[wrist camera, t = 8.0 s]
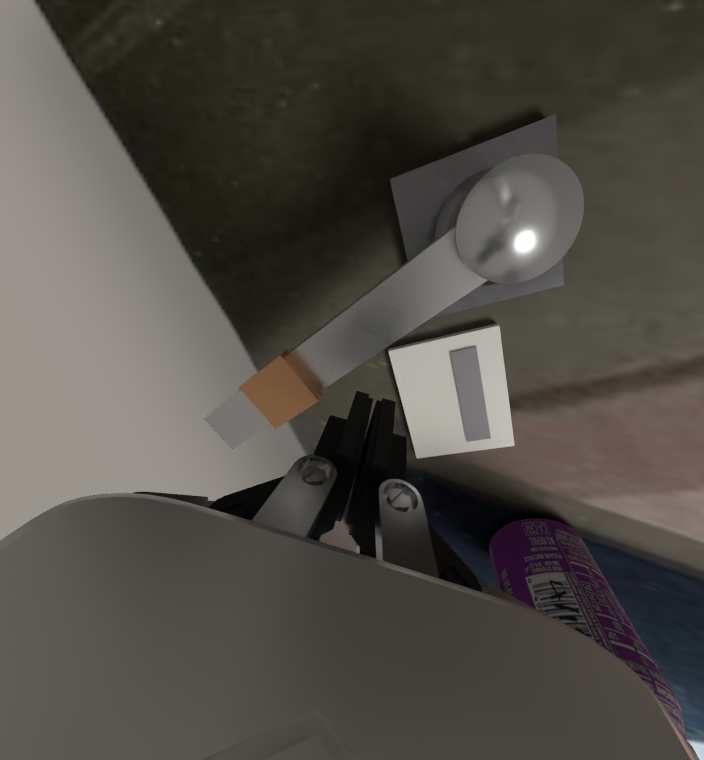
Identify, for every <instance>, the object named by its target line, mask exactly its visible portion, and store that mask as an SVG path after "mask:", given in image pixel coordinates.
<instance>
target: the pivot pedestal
mask: <svg viewBox="0 0 704 760" xmlns="http://www.w3.org/2000/svg"><path fill="white" fill-rule="evenodd" d="M526 154H543V155H548V156H551V157H554V158H557V159H558V149H557V128H556V114H555V115H552V116H550V117H547V118H545V119H542V120H539V121H537V122H534V123H532V124H529V125H527V126H524V127H522V128H519V129H517V130H514V131H511V132H509V133H506V134H504V135H501V136H499V137H496V138H494V139H491V140H488V141H486V142H483V143H481V144H478V145H476V146H473V147H471V148H468V149H465V150H463V151H460V152H458V153H455V154H453V155H450V156H448V157H445V158H442V159H440V160H437V161H435V162H432V163H430V164H427V165H425V166H422V167H420V168H417V169H414V170H412V171H409V172H407V173H404V174H402V175H399V176H397V177H394V178H391V179H390V183H391V187H392V192H393V197H394V201H395V206H396V210H397V215H398V220H399V224H400V229H401V233H402V238H403V242H404V247H405V252H406V256H407V261H408V260H410V259H411V258H412V257H413V256H415V255H416V254H417V253H419V252H420V251H421V250H423V249H424V248H425V247H426V246H428V245H429V244H430V243H432V242H433V241H434V240H436V239H437V238H438V237H440V236H441V235H442V234H443V233H445V232H446V231H447V229H448V224H449V220H450V217H451V215H452V212H453V210H454V208H455V207H456V205H457V204H458V202H459V201H460V199H461V198H462V197H463V196H464V195H465V194H466V193H467V192H468V191H469V190H470V189H471V188H472V187H473V186H474V185H475V184H476V183H477V182H478V181H479V180H480V179H481V178H482V177H483V176H484V175H485V174H487V173H488V172H489V171H490V170H491V169H493V168H494V167H496V166H497V165H499V164H500V163H502V162H504V161H506V160H509V159H511V158H513V157H517V156H521V155H526ZM562 285H564V273H563V257H562V258H561V259H560V260H559V261H558V262H557V263H556V264H555V265H554V266H552V267H551V268H550V269H548V270H547V271H546V272H544V273H542V274H540V275H539V276H537V277H534V278H532V279H530V280H526V281H523V282H518V283H509V284H505V283H497V282H492V281H489V280H488V281H486V282H485V283H483V284H482V285H480V286H479V287H477V288H476V289H474V290H473V291H471V292H470V293H468V294H466V295H465V296H463V297H462V298H460V299H459V300H457V301H456V302H454V303H453V304H451V305H450V306H448V307H447V308H445V309H444V310H442V311H441V312H439V313H438V314H436V315H435V316H433V317H432V318H436V317H439V316H443V315H447V314H451V313H455V312H459V311H463V310H467V309H471V308H475V307H479V306H483V305H487V304H491V303H495V302H499V301H503V300H507V299H511V298H515V297H518V296H522V295H526V294H530V293H534V292H538V291H542V290H546V289H550V288H554V287H558V286H562ZM432 318H430V319H432Z"/></svg>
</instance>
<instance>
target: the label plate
mask: <svg viewBox="0 0 704 760" xmlns="http://www.w3.org/2000/svg"><path fill="white" fill-rule="evenodd" d="M388 352H389V356H390V360H391V363H392V367H393V371H394V375H395V378H396V382H397V386H398V390H399V393H400V397H401V401H402V405H403V408H404V412H405V416H406V420H407V424H408V427H409V431H410V435H411V439H412V442H413V446H414V450H415V454H416V457H417V458H424V457H432V456H440V455H447V454H455V453H463V452H470V451H478V450H486V449H493V448H501V447H509V446H515V445H514V438H513V430H512V422H511V414H510V406H509V398H508V390H507V383H506V375H505V367H504V359H503V351H502V343H501V335H500V327H499V325H498V324H497V323H496V324H491V325H487V326H483V327H479V328H474V329H470V330H466V331H462V332H457V333H453V334H449V335H445V336H440V337H436V338H432V339H428V340H423V341H419V342H415V343H411V344H406V345H402V346H398V347H394V348H389V350H388Z"/></svg>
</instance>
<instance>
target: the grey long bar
mask: <svg viewBox="0 0 704 760" xmlns="http://www.w3.org/2000/svg"><path fill="white" fill-rule="evenodd" d="M583 213H584V196H583V191H582V187H581V185H580V182H579V180H578V178H577V176H576V175H575V173H574V172H573V171H572V170H571V168H570V167H569V166H567V165H566V164H565V163H564V162H562V161H560V160H559V159H557V158H554V157H551V156H548V155H543V154H526V155H521V156H517V157H513V158H511V159H509V160H506V161H504V162H502V163H500V164H499V165H497V166H496V167H494V168H493V169H491V170H490V171H489V172H488V173H487V174H485V175H484V176H483V177H482V178H481V179H480V180H479V181H478V182H477V183H476V184H475V185H474V186H473V187H472V188H471V189H470V190H469V191H468V192H467V193H466V194H465V195H464V196H463V197H462V198H461V199H460V201H459V202H458V204H457V205H456V207H455V208H454V210H453V212H452V215H451V217H450V220H449V224H448V229H447V231H446V232H445V233H443V234H442V235H441V236H440V237H438V238H437V239H436V240H434V241H433V242H432V243H430V244H429V245H428V246H426V247H425V248H424V249H423V250H421V251H420V252H419V253H417V254H416V255H415V256H413V257H412V258H411V259H410V260H408V261H407V262H406V263H404V264H403V265H402V266H400V267H399V268H398V269H396V270H395V271H394V272H393V273H391V274H390V275H389V276H387V277H386V278H385V279H383V280H382V281H381V282H379V283H378V284H377V285H376V286H374V287H373V288H372V289H370V290H369V291H368V292H366V293H365V294H364V295H363V296H361V297H360V298H359V299H357V300H356V301H355V302H353V303H352V304H351V305H349V306H348V307H347V308H346V309H344V310H343V311H342V312H340V313H339V314H338V315H336V316H335V317H334V318H332V319H331V320H330V321H329V322H327V323H326V324H325V325H323V326H322V327H321V328H319V329H318V330H317V331H315V332H314V333H313V334H312V335H310V336H309V337H308V338H306V339H305V340H304V341H302V342H301V343H300V344H299V345H297V346H296V347H295V348H293V349H292V350H291V351H289V352H288V351H287V350H286V351H285V352H284V353H282V354H281V355H280V356H279V357H277V358H276V359H275V360H273V361H272V362H271V363H269V364H268V365H267V366H266V367H264V368H263V369H262V370H260V371H259V372H258V373H257V374H255V375H254V376H253V377H251V378H250V379H249V380H247V381H246V382H245V383H244V384H243V385H241V386H240V387H239V388H240V390H239V391H238V392H236V393H235V394H233V395H232V396H231V397H230V398H228V399H227V400H226V401H225V402H223V403H222V404H221V405H220V406H219V407H218V408H216V409H215V410H214V411H213V412H211V413H210V414H209V415H208V416H207V417H205V418H204V420H205V421H206V422H207V423H208V424H209V425H210V426H211V427H212V428H213V429H214V430H215V431H216V432H217V433H218V434H219V436H220V437H221V438H222V439H223V440H224V441H225V442H226V443H227V444H228V445H229V446H230V447H231V448H232V449H233V448H235V447H236V446H238V445H239V444H241V443H242V442H244V441H245V440H247V439H248V438H250V437H251V436H253V435H254V434H256V433H257V432H259V431H260V430H262V429H263V428H265V427H266V426H268V425H270V424H272V425H273V426H274V428H275V429H276V428H277V427H279V426H281V425H282V424H284V423H286V422H287V421H289V420H290V419H292V418H293V417H295V416H296V415H298V414H299V413H301V412H303V411H304V410H306V409H307V408H309V407H310V406H312V405H313V404H315V403H317V402H318V401H319V400H320V398H321V396H322V395H323V394H322V392H321V390H323V389H324V388H326V387H327V386H329V385H330V384H332V383H333V382H335V381H336V380H338V379H339V378H341V377H342V376H344V375H345V374H347V373H348V372H350V371H351V370H353V369H354V368H356V367H357V366H359V365H360V364H362V363H363V362H365V361H366V360H368V359H370V358H371V357H373V356H374V355H376V354H377V353H379V352H380V351H382V350H383V349H385V348H386V347H388V346H389V345H391V344H392V343H394V342H395V341H397V340H398V339H400V338H401V337H403V336H404V335H406V334H407V333H409V332H410V331H412V330H413V329H415V328H416V327H418V326H420V325H421V324H423V323H424V322H426V321H427V320H429V319H430V318H432V317H433V316H435V315H436V314H438V313H439V312H441V311H442V310H444V309H445V308H447V307H448V306H450V305H451V304H453V303H454V302H456V301H457V300H459V299H460V298H462V297H463V296H465V295H466V294H468V293H470V292H471V291H473V290H474V289H476V288H477V287H479V286H480V285H482V284H483V283H485V282H486V281H488V280H489V281H492V282H497V283H505V284H509V283H518V282H523V281H526V280H530V279H532V278H534V277H537V276H539V275H540V274H542V273H544V272H546V271H547V270H548V269H550V268H551V267H552V266H554V265H555V264H556V263H557V262H558V261H559V260H560V259H561V258H562V257H563V256H564V255H565V254H566V252H567V251H568V250H569V248H570V247H571V245H572V244H573V242H574V240H575V238H576V236H577V234H578V232H579V229H580V226H581V223H582V218H583Z"/></svg>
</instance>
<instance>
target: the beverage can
mask: <svg viewBox="0 0 704 760" xmlns="http://www.w3.org/2000/svg"><path fill="white" fill-rule="evenodd" d="M489 554H490V557H491V561H492V565H493V569H494V573H495V576H496V580H497V584H498V588H499V590H501V591H503V592H505V593H507V594H509V595H511V596H512V597H514V598H516V599H518V600H520V601H522V602H524V603H525V604H527V605H529V606H531V607H533V608H535V609H537V610H538V611H540V612H542V613H544V614H546V615H548V616H550V617H551V618H553V619H555V620H557V621H559V622H562V623H564V624H566V625H568V626H569V627H571V628H573V629H575V630H577V631H578V632H580V633H582V634H584V635H585V636H587V637H589V638H590V639H592V640H593V641H595V642H596V643H598V644H599V645H601V646H602V647H604V648H605V649H606V650H608V651H609V652H611V653H612V654H614V655H615V656H616V657H617V658H619V659H620V660H621V661H622V662H624V663H625V664H626V665H627V666H628V667H630V668H631V669H632V670H633V671H634V672H635V673H636V674H637V675H638V676H639V677H640V678H641V679H642V680H643V681H644V682H645V683H646V684H647V685H648V686H649V687H650V689H651V690H652V691H653V692H654V694H655V695H656V696H657V698H658V699H659V700H660V702H661V703H662V704H663V706H664V707H665V709H666V710H667V712H668V713H669V714H670V716H671V718H672V719H673V721H674V722H675V724H676V725H677V727H678V728H679V730H680V732H681V733H682V735H683V737H684V738H685V740H686V742H687V739H686V733H685V728H684V722H683V716H682V711H681V708H680V705H679V703H678V701H677V699H676V697H675V696H674V694H673V692H672V691H671V689H670V687H669V686H668V684H667V682H666V681H665V679H664V677H663V675H662V674H661V672H660V670H659V669H658V667H657V665H656V664H655V662H654V660H653V659H652V657H651V655H650V653H649V652H648V650H647V648H646V647H645V645H644V643H643V642H642V640H641V638H640V637H639V635H638V633H637V632H636V630H635V628H634V626H633V625H632V623H631V621H630V620H629V618H628V616H627V615H626V613H625V611H624V610H623V608H622V606H621V604H620V603H619V601H618V599H617V598H616V596H615V594H614V593H613V591H612V589H611V588H610V586H609V584H608V582H607V581H606V579H605V577H604V576H603V574H602V572H601V571H600V569H599V567H598V566H597V564H596V562H595V561H594V559H593V557H592V555H591V554H590V552H589V550H588V549H587V547H586V545H585V544H584V542H583V540H582V539H581V537H580V536H579V534H578V533H577V532H576V531H574V530H573V529H572V528H570V527H569V526H567V525H565V524H562V523H560V522H557V521H553V520H548V519H524V520H520V521H516V522H513V523H510V524H508V525H506V526H504V527H503V528H501V529H500V530H499V531H497V532H496V533H495V535H494V536H493V537H492V539H491V541H490V544H489ZM687 743H688V745H689V747H690V748H691V750H692V752H693V753H694V755H695V757H696V758H697V760H699V758H698V756H697V754H696V753H695V751H694V749H693V747H692V746H691V745H690V744H689V742H687Z"/></svg>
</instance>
